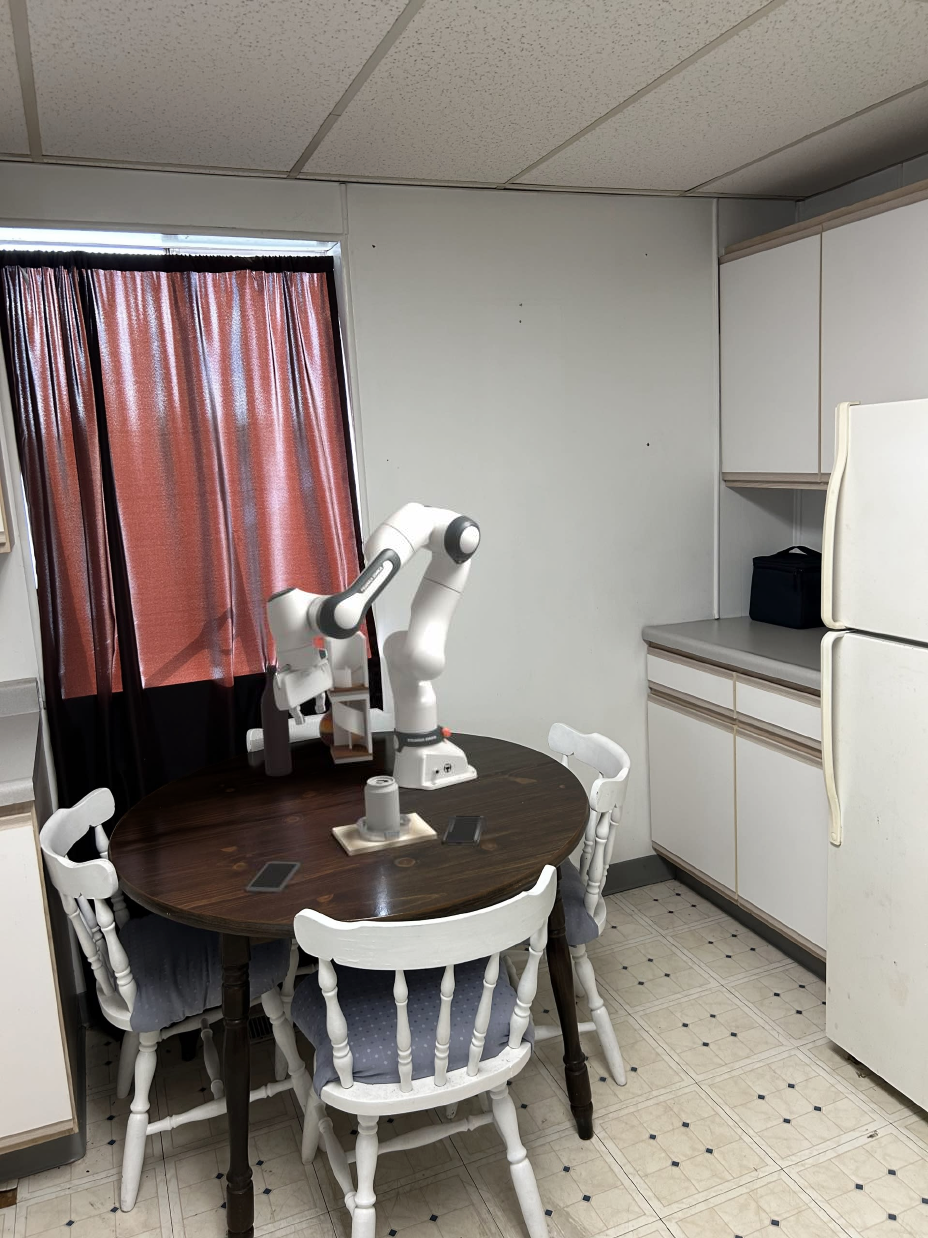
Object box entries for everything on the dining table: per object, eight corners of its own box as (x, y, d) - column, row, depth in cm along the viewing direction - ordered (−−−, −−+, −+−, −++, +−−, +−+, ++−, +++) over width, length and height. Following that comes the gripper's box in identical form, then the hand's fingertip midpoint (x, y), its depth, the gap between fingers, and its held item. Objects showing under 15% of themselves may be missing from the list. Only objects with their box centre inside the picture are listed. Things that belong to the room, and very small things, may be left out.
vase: (341, 750, 278) (338, 699, 275) (312, 746, 283) (308, 695, 281) (364, 740, 287) (361, 691, 284) (336, 736, 293) (333, 687, 290)
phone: (484, 816, 221) (477, 841, 206) (485, 820, 221) (477, 846, 206) (451, 815, 222) (441, 841, 207) (451, 820, 222) (441, 846, 207)
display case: (330, 752, 277) (323, 634, 271) (367, 748, 279) (360, 631, 273) (335, 763, 266) (327, 641, 260) (372, 759, 268) (366, 638, 262)
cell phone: (244, 893, 188) (243, 890, 187) (268, 864, 201) (268, 860, 201) (279, 895, 186) (279, 891, 186) (302, 865, 200) (301, 862, 200)
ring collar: (400, 817, 221) (400, 809, 220) (418, 835, 210) (417, 826, 209) (350, 826, 216) (350, 818, 216) (366, 845, 205) (365, 836, 205)
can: (405, 826, 215) (402, 775, 213) (393, 838, 208) (390, 786, 206) (374, 823, 217) (371, 773, 215) (361, 836, 210) (358, 784, 208)
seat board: (415, 817, 223) (415, 812, 223) (436, 838, 210) (436, 833, 210) (332, 833, 216) (332, 828, 215) (349, 855, 203) (349, 850, 203)
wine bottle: (297, 771, 261) (290, 664, 256) (279, 778, 255) (271, 669, 250) (278, 767, 264) (270, 662, 259) (260, 774, 258) (252, 667, 254)
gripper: (285, 668, 205) (300, 730, 206) (330, 648, 224) (343, 704, 225) (261, 672, 207) (275, 733, 209) (307, 652, 226) (320, 707, 228)
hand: (311, 718), depth 217 cm, fingers open, 8 cm apart
